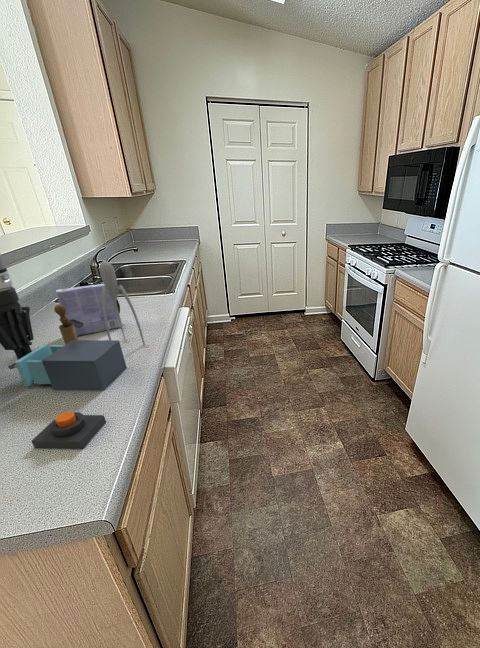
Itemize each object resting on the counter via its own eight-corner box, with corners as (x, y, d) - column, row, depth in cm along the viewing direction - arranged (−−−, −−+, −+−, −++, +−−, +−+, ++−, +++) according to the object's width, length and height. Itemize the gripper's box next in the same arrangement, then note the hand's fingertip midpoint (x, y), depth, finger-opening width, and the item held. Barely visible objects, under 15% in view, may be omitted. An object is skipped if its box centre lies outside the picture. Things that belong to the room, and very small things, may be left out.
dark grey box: (53, 390, 93) (41, 360, 89) (81, 367, 104) (72, 340, 100) (104, 390, 93) (94, 360, 88) (127, 367, 104) (119, 340, 100)
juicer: (139, 351, 114) (117, 263, 100) (112, 352, 113) (86, 264, 100) (149, 338, 123) (130, 256, 110) (124, 339, 122) (101, 257, 109)
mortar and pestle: (91, 350, 115) (74, 301, 107) (83, 359, 109) (65, 307, 101) (70, 352, 114) (52, 302, 106) (61, 361, 108) (41, 309, 100)
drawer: (8, 386, 94) (-4, 362, 90) (38, 365, 104) (29, 343, 100) (71, 386, 93) (62, 362, 90) (95, 366, 103) (88, 343, 100)
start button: (54, 427, 73) (51, 421, 73) (64, 417, 77) (62, 411, 76) (69, 427, 73) (67, 421, 73) (80, 417, 77) (77, 411, 76)
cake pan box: (124, 322, 137) (112, 280, 129) (126, 326, 133) (114, 283, 125) (69, 333, 128) (54, 289, 120) (70, 338, 124) (53, 292, 116)
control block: (34, 448, 73) (27, 434, 71) (62, 421, 81) (56, 408, 79) (83, 449, 72) (77, 435, 71) (106, 422, 80) (101, 409, 79)
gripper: (-13, 297, 81) (24, 378, 91) (28, 282, 93) (57, 356, 103) (-42, 297, 81) (-2, 378, 92) (3, 282, 93) (34, 356, 103)
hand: (29, 366), depth 97 cm, fingers closed
